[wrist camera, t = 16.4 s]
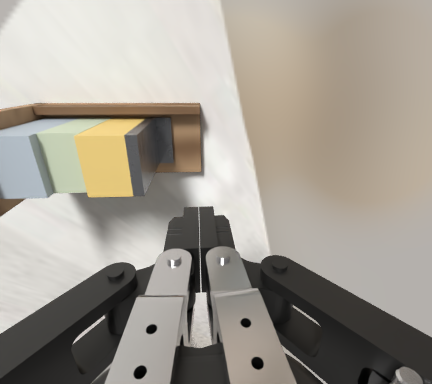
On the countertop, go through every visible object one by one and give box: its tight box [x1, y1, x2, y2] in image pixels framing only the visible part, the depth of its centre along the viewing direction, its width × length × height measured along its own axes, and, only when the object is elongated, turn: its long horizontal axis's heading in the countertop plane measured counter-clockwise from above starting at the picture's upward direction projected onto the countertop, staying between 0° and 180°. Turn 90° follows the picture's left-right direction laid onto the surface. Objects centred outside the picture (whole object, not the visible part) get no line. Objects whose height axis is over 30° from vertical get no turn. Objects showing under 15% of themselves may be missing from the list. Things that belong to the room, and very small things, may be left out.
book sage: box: [36, 117, 113, 193], centre depth 26 cm, size 6×4×9 cm, turn 0°
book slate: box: [0, 117, 82, 199], centre depth 25 cm, size 6×4×10 cm
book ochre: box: [74, 118, 146, 197], centre depth 26 cm, size 6×4×10 cm
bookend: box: [124, 117, 174, 196], centre depth 26 cm, size 6×3×10 cm, turn 0°
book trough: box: [0, 103, 201, 217], centre depth 25 cm, size 8×19×13 cm, turn 90°
